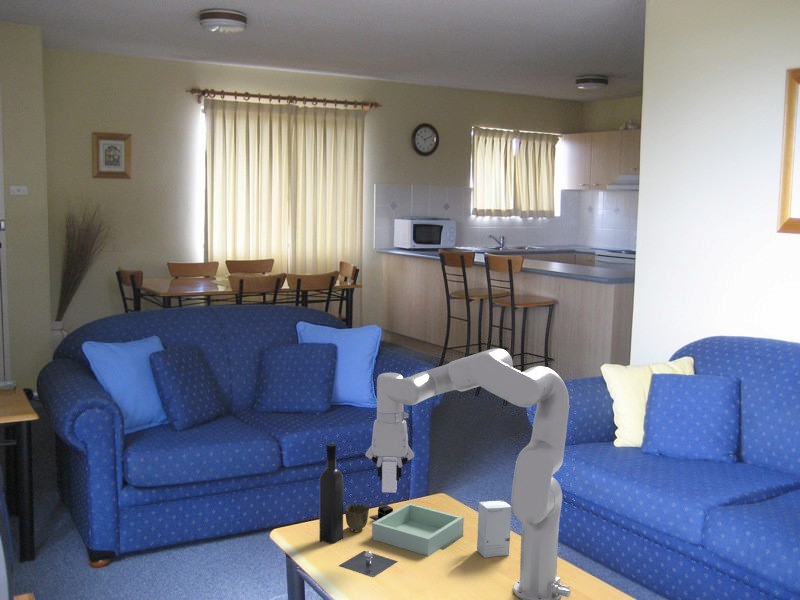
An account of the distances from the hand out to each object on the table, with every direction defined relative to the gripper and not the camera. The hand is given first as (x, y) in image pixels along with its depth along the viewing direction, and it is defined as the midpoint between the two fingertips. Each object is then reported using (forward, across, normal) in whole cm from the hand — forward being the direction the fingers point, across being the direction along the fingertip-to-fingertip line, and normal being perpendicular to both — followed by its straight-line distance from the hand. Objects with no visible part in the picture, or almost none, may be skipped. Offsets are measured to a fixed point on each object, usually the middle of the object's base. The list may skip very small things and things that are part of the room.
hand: (389, 478), depth 235 cm
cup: (+23, +11, -16) cm, 30 cm away
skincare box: (+23, -30, -4) cm, 39 cm away
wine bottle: (+23, +18, -8) cm, 30 cm away
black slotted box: (+24, +3, -26) cm, 35 cm away
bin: (+23, -8, -12) cm, 27 cm away
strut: (+3, 0, 0) cm, 3 cm away
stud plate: (+23, +5, +8) cm, 25 cm away
